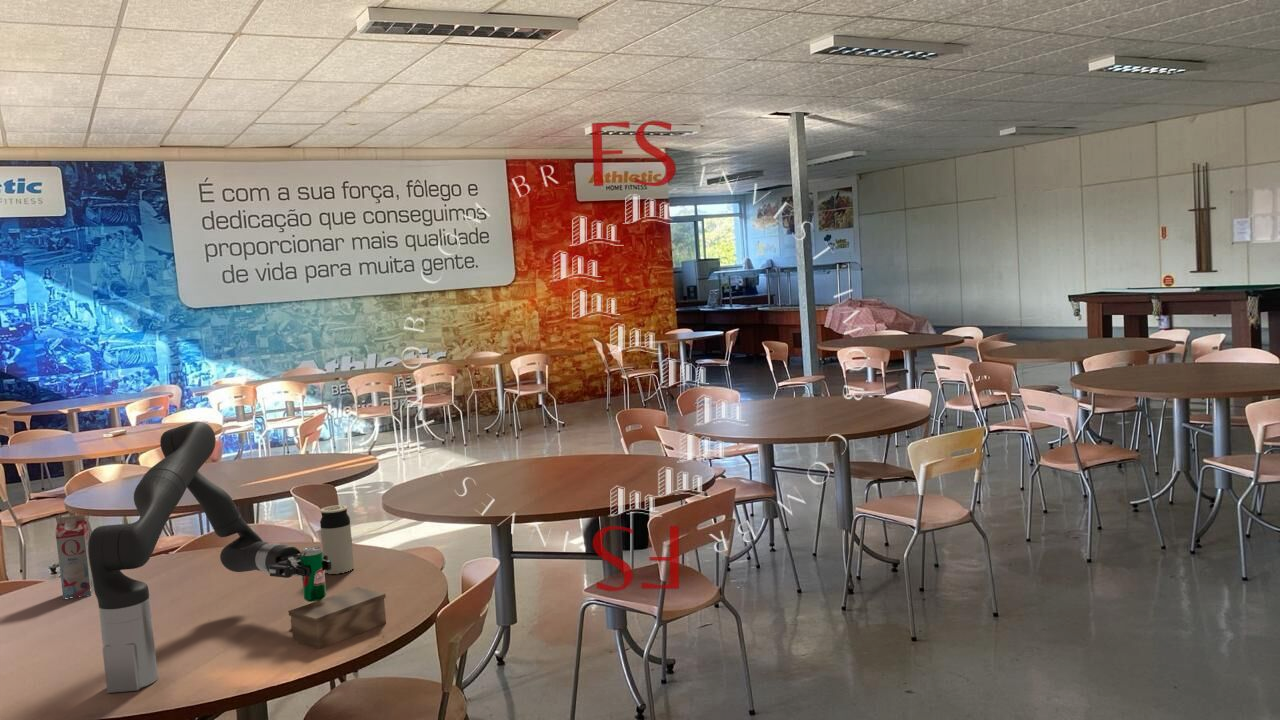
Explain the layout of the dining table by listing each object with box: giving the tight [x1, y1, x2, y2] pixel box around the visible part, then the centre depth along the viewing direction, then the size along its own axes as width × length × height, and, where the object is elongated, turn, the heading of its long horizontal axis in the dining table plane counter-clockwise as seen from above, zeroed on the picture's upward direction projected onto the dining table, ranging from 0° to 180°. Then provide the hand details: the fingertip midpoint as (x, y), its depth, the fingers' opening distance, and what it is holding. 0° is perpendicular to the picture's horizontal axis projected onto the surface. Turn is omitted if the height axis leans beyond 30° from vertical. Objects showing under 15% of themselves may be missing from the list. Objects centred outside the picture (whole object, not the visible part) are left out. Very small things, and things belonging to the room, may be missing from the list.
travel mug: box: [319, 504, 355, 575], centre depth 271 cm, size 8×8×18 cm
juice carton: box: [55, 514, 95, 599], centre depth 264 cm, size 7×7×22 cm
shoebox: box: [288, 586, 387, 650], centre depth 221 cm, size 19×11×7 cm, turn 142°
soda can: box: [300, 546, 327, 603], centre depth 226 cm, size 5×5×12 cm
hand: (319, 568), depth 224 cm, fingers closed on soda can, 5 cm apart
